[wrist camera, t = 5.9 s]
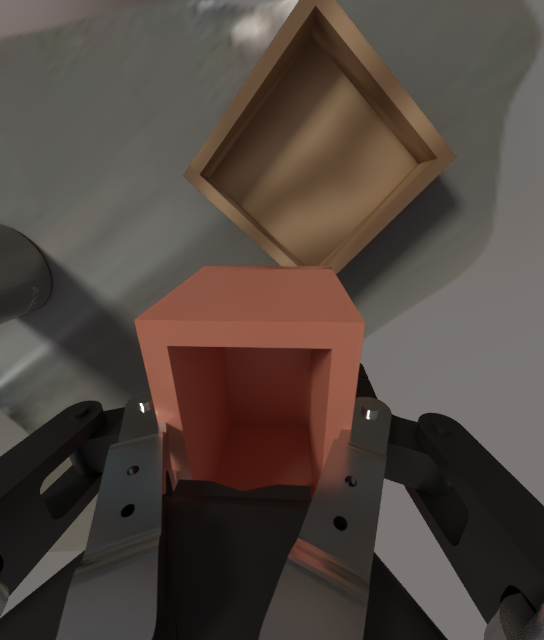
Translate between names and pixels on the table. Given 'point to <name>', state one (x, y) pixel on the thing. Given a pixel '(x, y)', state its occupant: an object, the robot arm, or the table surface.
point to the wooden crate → (318, 144)
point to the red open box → (253, 372)
